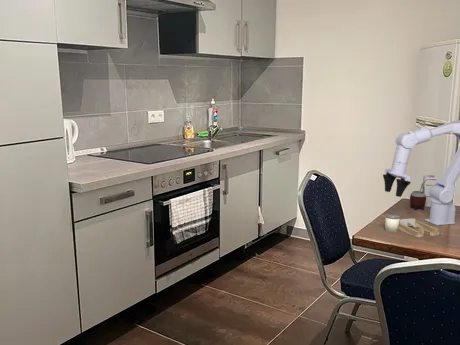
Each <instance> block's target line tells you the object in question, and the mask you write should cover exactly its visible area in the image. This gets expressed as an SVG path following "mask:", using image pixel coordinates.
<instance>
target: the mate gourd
mask: <svg viewBox="0 0 460 345" xmlns="http://www.w3.org/2000/svg"><path fill="white" fill-rule="evenodd" d="M426 181H427V180H426ZM426 181H424V182H423V181H422V183H421V184H420V188H419V190H414V191H412V192H411V193H410V196H409V202H410V209H414V211H417V210H421V211H424V210H425V202H426V195H425V193H424V192H422V188H423V185H424V183H425V182H426Z"/></svg>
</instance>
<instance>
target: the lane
mask: <svg viewBox="0 0 460 345" xmlns="http://www.w3.org/2000/svg"><path fill="white" fill-rule="evenodd" d="M415 226H417V228H416V229H417V230H416V229H414V228H412V227H411V226H405V225H403V224H401V223H399V230H398V231H400V232H401V231H402V232H403V233H405V234H408V235H410V236H412V237H414V238H424V235H425V234H424V233H425V232H427V233H429V236H431V237H436V236H440V229H438V227H436V226H431V225H429V224H426V223H424V222H422V221H420V220H417V219H415Z"/></svg>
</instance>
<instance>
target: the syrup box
mask: <svg viewBox="0 0 460 345" xmlns="http://www.w3.org/2000/svg"><path fill="white" fill-rule="evenodd" d="M438 178H439V177H437V176H436V175H431V174H428V175H427V174H425V175H424V174H423V176H422V183H423V182H424V181H426V180H427V181H426V182H425V183H424V185H423V186H422V189H421V192H424V193H425V195H426V202H425V206H424V208H425V207H426V208H431V197H430V195H429V189H430V187H431V186H433V185H434V184H435V183H436V181H437V180H439V179H438Z"/></svg>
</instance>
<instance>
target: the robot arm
mask: <svg viewBox="0 0 460 345" xmlns="http://www.w3.org/2000/svg"><path fill="white" fill-rule="evenodd" d="M450 133H452V134H453V135H454V136H455V137H456V139H457V140H458V142H459V143H460V119H458V120H454V121H450V122H447V123H444V124H441V125H439V126H435V127H433V128H428V127H425V126H420V127H419V129H416V130H409V131H408V133H406V132H403V133H400V134H398V135H397V137H396V138H395V144H396V148H395V152H394V155H393V161H392V164H391V169H389V168H385V170H384V174H382V178H383V181H384V192H385V193H390V192H391V191H392V187H393V184H394V182H395V180H396V191H395V196H396V197H398V198H401V197H402V196H403V193H404V192H405V190H406V189H407V188H408V186H410V185H411V178H412V176H410V175H408V174H406V171H407V168H408V163H409V159H410V157H411V156H410V155H411V151H412V149H413V148H414V147H415V146H416V145H417V146H418V145H419V144H423V143H426V142H429V141H431V139H432V138H434V137H438V136H441V135H446V134H450ZM459 178H460V146H458V149H457V150H456V153H455V154H454V155H453V158H452V159H451V161H450V163H449V165H448V166H447V168H446V169H445V172H444V173H443V175H442V177H441V178H439V179H438V180H437V181H436V183H435V184H434V185H433V186H431V187H430V189H429V195H430V197H431V207H429V218H425V219H424V221H425V222H428V223H431V224H433V225H435V226H445V225H455V224H456V223H457V222H455V218H456V205H455V203H454V202H453V199H454V198H455V192H456V190H457V188H456V185H455V184H456V182H457V180H458V179H459Z"/></svg>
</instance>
